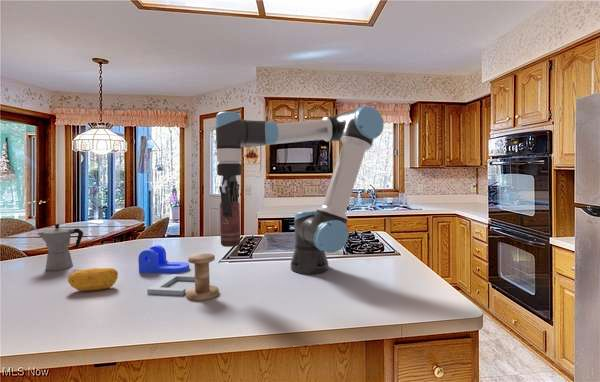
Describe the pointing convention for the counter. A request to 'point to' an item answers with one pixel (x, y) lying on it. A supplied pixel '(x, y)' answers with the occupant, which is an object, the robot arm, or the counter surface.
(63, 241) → the coffeepot
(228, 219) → the can
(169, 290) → the grey u-shaped frame
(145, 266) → the bracket
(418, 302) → the counter surface
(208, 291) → the bobbin
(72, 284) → the potato
